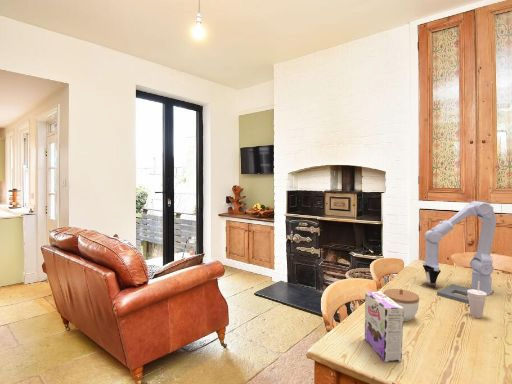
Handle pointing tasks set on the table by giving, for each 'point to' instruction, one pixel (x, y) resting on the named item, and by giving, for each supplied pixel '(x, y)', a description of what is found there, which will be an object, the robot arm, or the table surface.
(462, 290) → the hole plate
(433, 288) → the tab
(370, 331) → the candy box
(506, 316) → the table surface
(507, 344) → the table surface
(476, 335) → the table surface
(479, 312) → the smoothie
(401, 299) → the lidded bowl
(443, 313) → the table surface
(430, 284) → the steel peg
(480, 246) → the robot arm
